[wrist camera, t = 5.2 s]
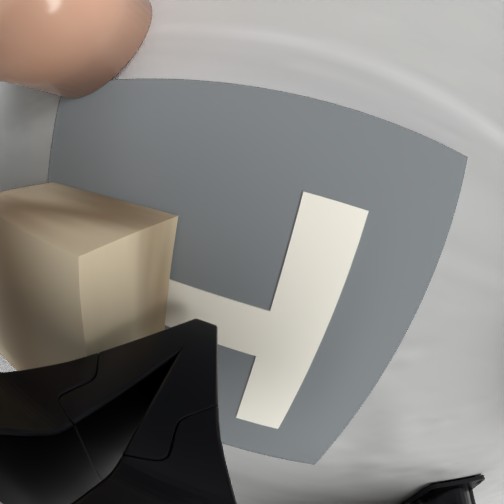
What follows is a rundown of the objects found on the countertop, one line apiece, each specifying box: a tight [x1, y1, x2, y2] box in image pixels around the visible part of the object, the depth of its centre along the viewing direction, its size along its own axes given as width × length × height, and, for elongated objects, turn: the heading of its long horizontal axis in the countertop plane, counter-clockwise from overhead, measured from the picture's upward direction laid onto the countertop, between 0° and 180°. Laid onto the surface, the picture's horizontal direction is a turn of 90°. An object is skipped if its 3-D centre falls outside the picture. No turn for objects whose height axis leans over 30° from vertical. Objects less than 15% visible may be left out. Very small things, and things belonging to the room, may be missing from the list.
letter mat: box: [48, 79, 468, 464], centre depth 9 cm, size 14×14×1 cm
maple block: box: [0, 182, 178, 371], centre depth 7 cm, size 6×6×4 cm
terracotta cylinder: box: [0, 0, 152, 99], centre depth 4 cm, size 5×5×5 cm
